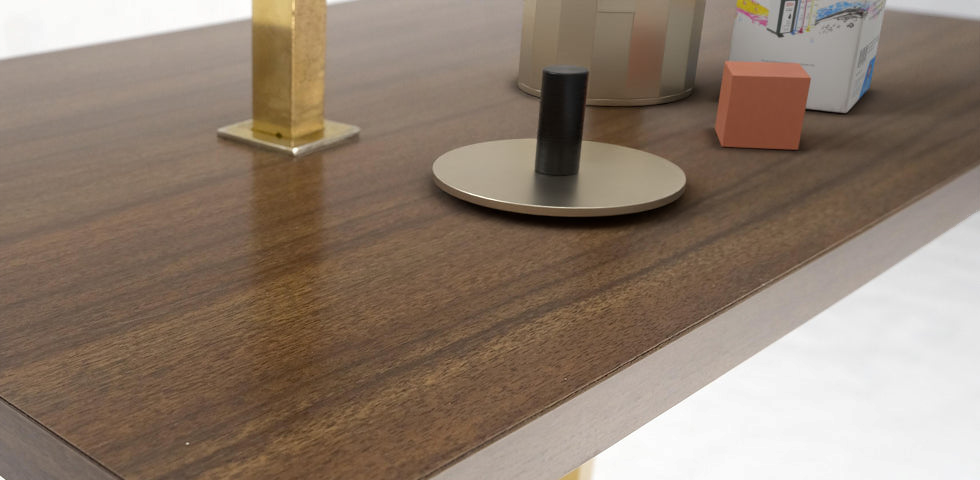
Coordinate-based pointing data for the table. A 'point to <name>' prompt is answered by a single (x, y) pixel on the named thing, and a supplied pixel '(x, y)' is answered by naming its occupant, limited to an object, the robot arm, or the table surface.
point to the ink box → (813, 43)
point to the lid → (559, 164)
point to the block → (762, 105)
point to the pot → (615, 47)
